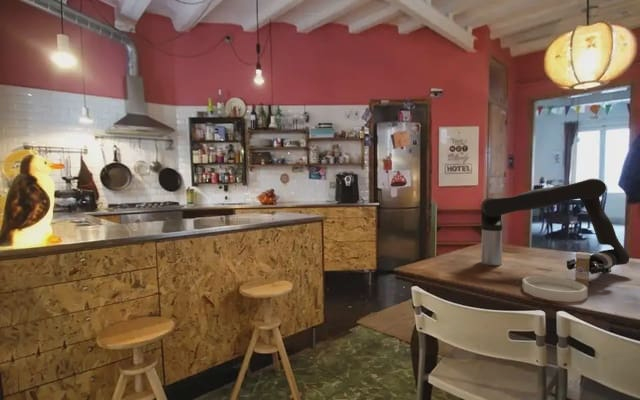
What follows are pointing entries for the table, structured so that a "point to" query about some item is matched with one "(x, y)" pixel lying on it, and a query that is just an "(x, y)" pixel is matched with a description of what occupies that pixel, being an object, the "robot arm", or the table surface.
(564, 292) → the bowl
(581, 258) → the sprinkles bottle
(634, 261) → the table surface
